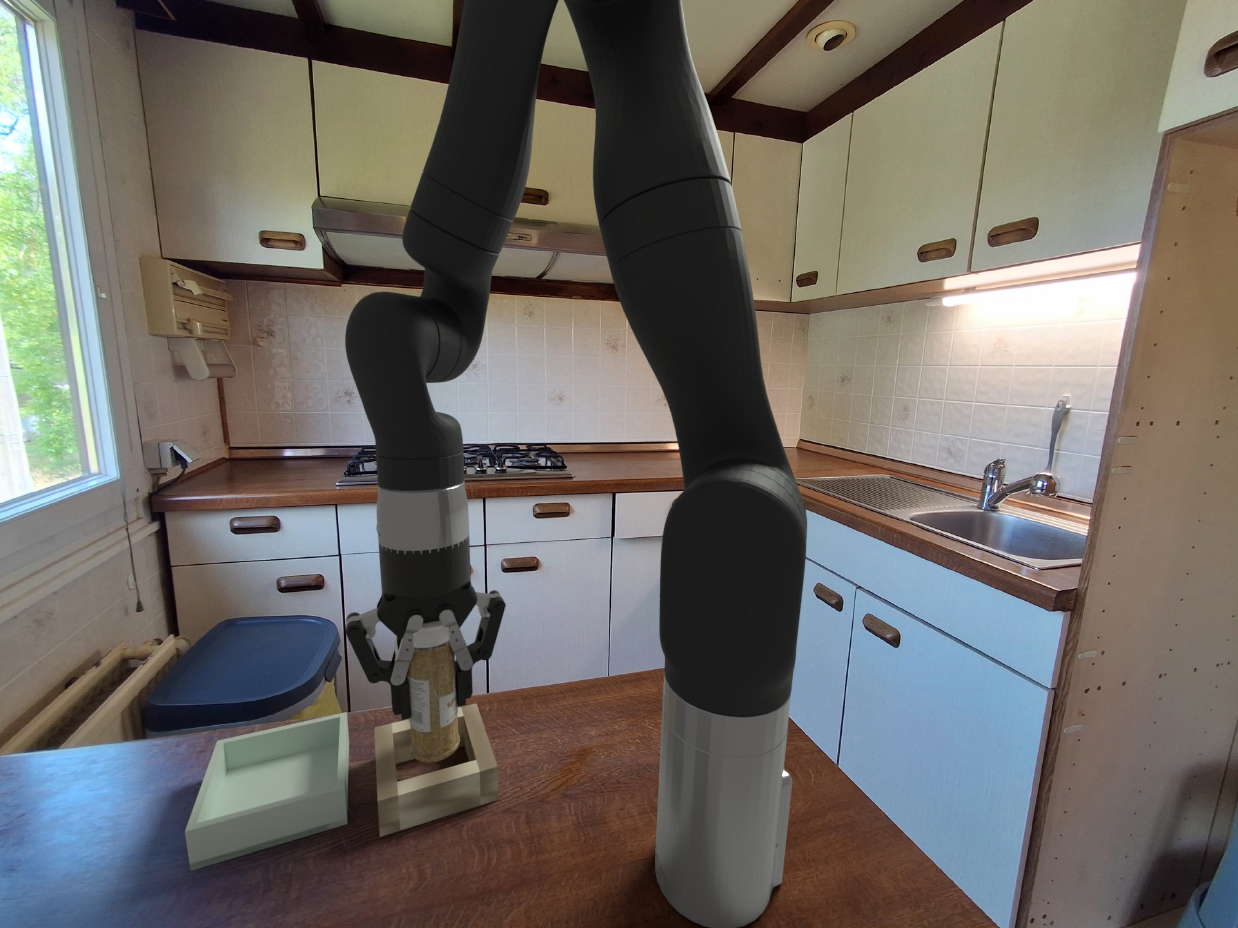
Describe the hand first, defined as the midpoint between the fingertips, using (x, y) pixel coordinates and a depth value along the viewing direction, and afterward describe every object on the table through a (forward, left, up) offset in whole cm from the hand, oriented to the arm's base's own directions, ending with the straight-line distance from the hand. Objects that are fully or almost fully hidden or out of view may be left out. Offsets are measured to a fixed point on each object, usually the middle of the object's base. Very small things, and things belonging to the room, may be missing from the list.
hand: (433, 706), depth 51 cm
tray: (+13, -3, -8) cm, 16 cm away
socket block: (0, 0, -8) cm, 8 cm away
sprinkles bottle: (0, 0, -4) cm, 4 cm away
